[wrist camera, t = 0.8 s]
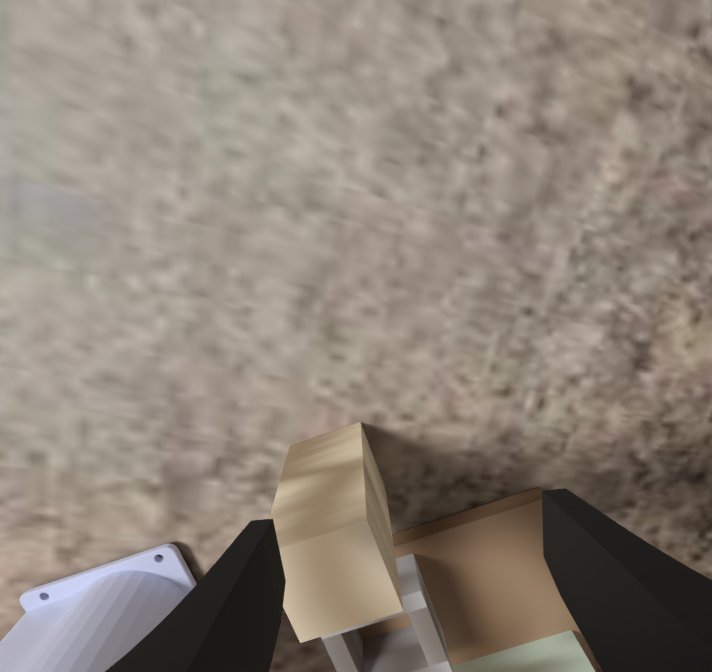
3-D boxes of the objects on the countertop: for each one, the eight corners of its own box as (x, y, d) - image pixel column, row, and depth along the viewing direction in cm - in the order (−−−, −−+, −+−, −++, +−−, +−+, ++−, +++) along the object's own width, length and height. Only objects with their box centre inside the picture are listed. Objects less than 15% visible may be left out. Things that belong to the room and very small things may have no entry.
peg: (316, 508, 23) (300, 643, 15) (289, 446, 22) (258, 555, 15) (384, 485, 23) (403, 611, 15) (360, 421, 22) (367, 520, 14)
